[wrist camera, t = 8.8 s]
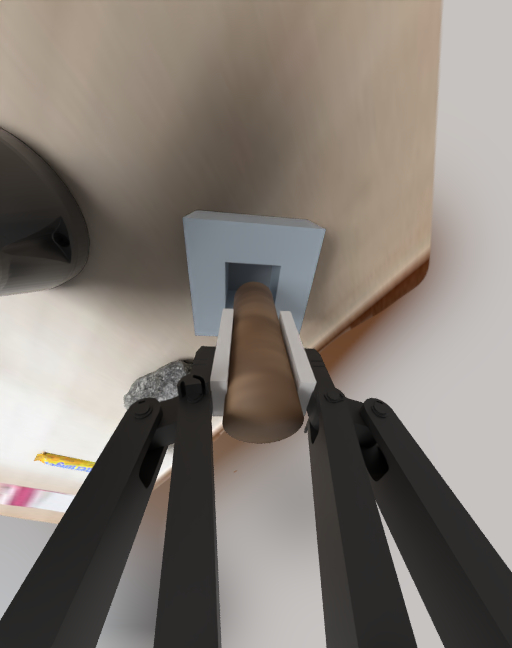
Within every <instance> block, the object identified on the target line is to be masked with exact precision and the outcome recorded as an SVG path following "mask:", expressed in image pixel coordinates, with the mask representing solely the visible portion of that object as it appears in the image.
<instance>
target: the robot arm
mask: <svg viewBox="0 0 512 648" xmlns="http://www.w3.org/2000/svg"><path fill="white" fill-rule="evenodd" d="M88 254H89V237H88V231H87V227H86V224H85V221H84V218H83V216H82V213H81V211H80V209H79V207H78V205H77V203H76V201H75V200H74V198H73V196H72V195H71V193H70V191H69V190H68V189H67V187H66V186H65V184H64V183H63V182H62V181H61V179H60V178H59V177H58V176H57V174H56V173H55V172H54V171H53V170H52V169H51V168H50V167H49V166H48V164H47V163H46V162H45V161H44V160H42V159H41V158H40V157H39V156H38V155H37V154H36V153H35V152H34V151H33V150H31V149H30V148H29V147H28V146H27V145H25V144H24V143H23V142H21V141H20V140H19V139H17V138H16V137H14V136H13V135H11V134H10V133H8V132H6V131H5V130H3V129H2V128H0V296H6V295H14V294H21V293H29V292H36V291H43V290H47V289H51V288H54V287H56V286H59V285H61V284H62V283H64V282H66V281H68V280H70V279H72V278H73V277H75V276H76V275H77V274H78V273H79V272H80V271H81V270H82V269H83V267H84V266H85V264H86V261H87V258H88ZM233 315H234V309H223V311H222V317H221V322H220V328H219V333H218V339H217V345H216V347H207V346H201V348H200V349H199V350H198V351H197V352H196V355H195V358H194V362H193V365H192V369H191V372H190V374H187V375H185V376H184V377H182V378H181V379H180V380H179V381H178V384H177V391H178V396H176V397H174V398H172V399H168V400H165V401H161V402H159V401H158V400H157V399H156V398H152V397H148V398H143V399H140V400H138V401H136V402H135V403H133V404H132V405H131V406H130V407H129V409H128V410H127V412H126V413H125V415H124V417H123V418H122V420H121V421H120V423H119V425H118V426H117V428H116V430H115V431H114V433H113V435H112V436H111V438H110V440H109V441H108V443H107V445H106V446H105V448H104V450H103V451H102V453H101V455H100V456H99V458H98V460H97V461H96V463H95V465H94V466H93V468H92V469H91V471H90V473H89V474H88V476H87V478H86V479H85V481H84V483H83V484H82V486H81V488H80V489H79V491H78V493H77V494H76V496H75V498H74V499H73V501H72V503H71V504H70V506H69V508H68V509H67V511H66V512H65V514H64V516H63V517H62V519H61V521H60V522H59V524H58V526H57V527H56V529H55V531H54V533H53V534H52V536H51V537H50V539H49V541H48V542H47V544H46V546H45V547H44V549H43V551H42V552H41V554H40V556H39V557H38V559H37V560H36V562H35V564H34V565H33V567H32V569H31V571H30V572H29V574H28V575H27V577H26V579H25V580H24V582H23V584H22V585H21V587H20V589H19V590H18V592H17V594H16V595H15V597H14V599H13V600H12V602H11V604H10V605H9V607H8V609H7V610H6V612H5V613H4V615H3V617H2V618H1V620H0V648H95V647H96V645H97V642H98V639H99V636H100V634H101V631H102V628H103V625H104V622H105V620H106V617H107V614H108V611H109V608H110V606H111V603H112V600H113V598H114V595H115V592H116V589H117V586H118V584H119V581H120V578H121V575H122V573H123V570H124V567H125V564H126V562H127V559H128V556H129V553H130V551H131V548H132V545H133V542H134V539H135V537H136V534H137V531H138V528H139V525H140V523H141V520H142V517H143V515H144V512H145V509H146V506H147V503H148V501H149V498H150V495H151V492H152V490H153V487H154V484H155V481H156V479H157V476H158V473H159V470H160V467H161V465H162V462H163V459H164V456H165V454H166V451H167V448H168V445H170V444H173V443H175V444H174V453H173V463H172V473H171V483H170V492H169V502H168V512H167V521H166V531H165V541H164V551H163V561H162V570H161V579H160V589H159V599H158V609H157V618H156V628H155V638H154V648H221V627H220V604H219V584H218V583H219V581H218V558H217V536H216V512H215V490H214V467H213V442H212V422H211V420H212V413H213V416H223V412H224V401H225V395H226V393H227V387H228V376H229V364H230V352H231V341H232V329H233ZM279 323H280V327H281V331H282V335H283V339H284V342H285V346H286V350H287V354H288V358H289V362H290V365H291V369H292V373H293V377H294V381H295V385H296V389H297V392H298V396H299V400H300V404H301V408H302V411H303V415H304V416H305V413H306V411H307V413H308V416H309V419H308V421H307V424H306V427H305V431H304V432H305V433H306V432H307V430H308V440H309V449H310V450H309V451H310V462H311V474H312V484H313V497H314V507H315V519H316V531H317V542H318V554H319V565H320V576H321V588H322V599H323V611H324V621H325V634H326V645H327V646H326V647H327V648H417V644H416V641H415V637H414V634H413V630H412V627H411V623H410V620H409V616H408V613H407V610H406V606H405V602H404V599H403V595H402V592H401V588H400V585H399V582H398V578H397V574H396V571H395V568H394V564H393V560H392V557H391V553H390V550H389V546H388V543H387V539H386V536H385V533H384V529H383V525H382V522H381V518H380V515H379V512H378V508H377V505H376V502H377V504H378V506H379V508H380V511H381V513H382V515H383V517H384V519H385V521H386V523H387V526H388V527H389V530H390V532H391V534H392V536H393V538H394V540H395V543H396V545H397V547H398V549H399V551H400V553H401V555H402V557H403V560H404V562H405V564H406V566H407V568H408V570H409V572H410V575H411V577H412V579H413V581H414V583H415V585H416V587H417V589H418V591H419V594H420V596H421V598H422V600H423V602H424V604H425V606H426V609H427V611H428V613H429V615H430V617H431V619H432V621H433V624H434V626H435V628H436V630H437V632H438V634H439V636H440V639H441V641H442V642H443V645H444V647H445V648H512V572H511V571H510V569H509V568H508V567H507V565H506V564H505V563H504V561H503V560H502V559H501V557H500V556H499V555H498V553H497V552H496V550H495V549H494V548H493V546H492V545H491V544H490V542H489V541H488V539H487V538H486V537H485V535H484V534H483V533H482V531H481V530H480V529H479V527H478V526H477V524H476V523H475V522H474V520H473V519H472V518H471V516H470V515H469V514H468V512H467V511H466V510H465V508H464V507H463V505H462V504H461V503H460V501H459V500H458V499H457V497H456V496H455V495H454V493H453V492H452V490H451V489H450V488H449V486H448V485H447V484H446V482H445V481H444V480H443V478H442V477H441V475H440V474H439V473H438V471H437V470H436V469H435V467H434V466H433V465H432V463H431V462H430V461H429V459H428V458H427V456H426V455H425V454H424V452H423V451H422V449H421V448H420V447H419V445H418V444H417V443H416V441H415V440H414V439H413V437H412V436H411V434H410V433H409V432H408V431H407V429H406V428H405V426H404V425H403V424H402V422H401V421H400V420H399V418H398V417H397V415H396V414H395V413H394V411H393V410H392V409H391V408H390V407H389V406H388V405H387V404H386V403H384V402H383V401H381V400H379V399H375V398H370V399H367V400H366V401H365V402H364V403H362V402H358V401H355V400H351V399H348V398H346V397H345V395H344V394H343V393H342V392H341V391H340V390H338V389H337V388H335V387H334V384H333V382H332V380H331V378H330V375H329V374H328V371H327V369H326V367H325V364H324V362H323V360H322V358H321V355H320V354H319V353H318V352H317V351H316V350H315V349H306V348H304V347H303V344H302V341H301V339H300V336H299V333H298V331H297V328H296V325H295V322H294V320H293V317H292V314H291V312H290V311H280V315H279ZM375 500H376V501H375Z"/></svg>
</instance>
